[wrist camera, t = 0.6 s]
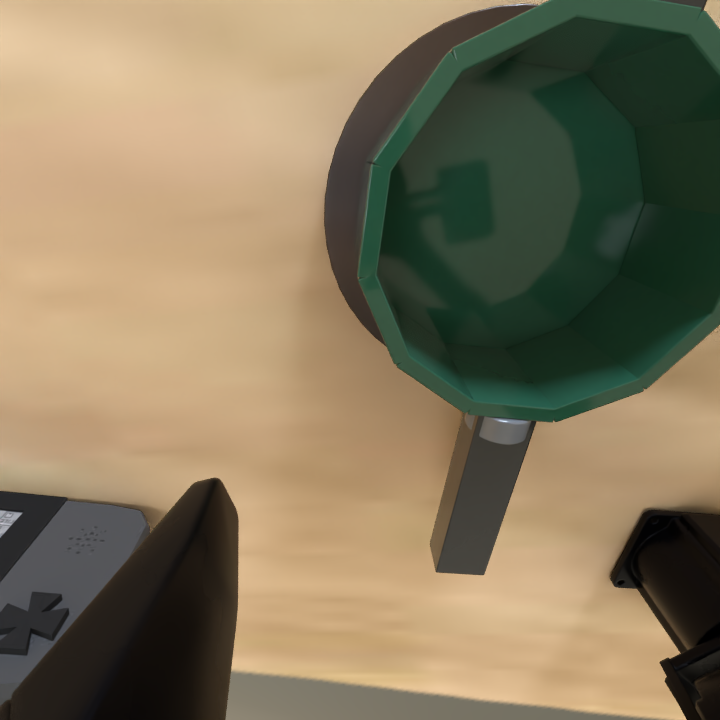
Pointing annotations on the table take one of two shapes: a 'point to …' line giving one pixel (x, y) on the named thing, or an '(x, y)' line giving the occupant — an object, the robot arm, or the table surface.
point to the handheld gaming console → (54, 571)
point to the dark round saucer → (368, 128)
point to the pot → (545, 231)
